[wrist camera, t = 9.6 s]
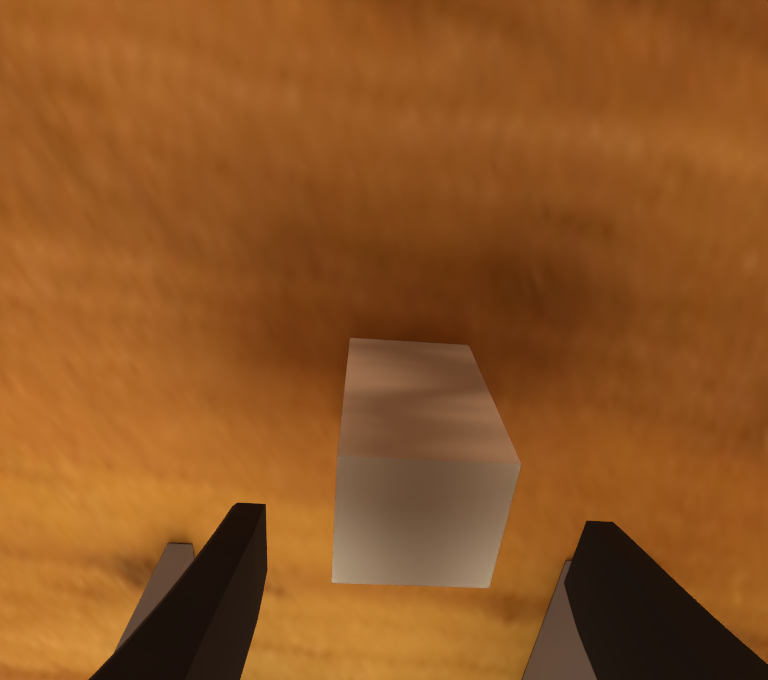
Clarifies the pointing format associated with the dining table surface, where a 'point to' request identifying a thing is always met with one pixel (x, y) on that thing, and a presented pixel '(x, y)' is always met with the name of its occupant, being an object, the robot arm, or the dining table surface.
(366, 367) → the birch block
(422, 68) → the dining table surface
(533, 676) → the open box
